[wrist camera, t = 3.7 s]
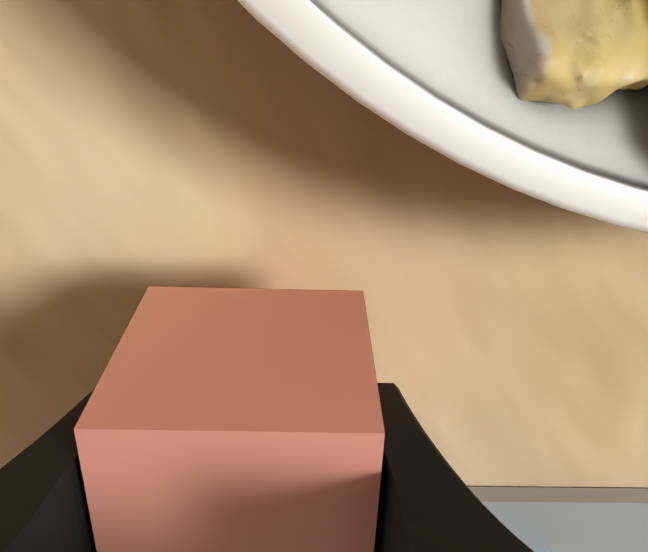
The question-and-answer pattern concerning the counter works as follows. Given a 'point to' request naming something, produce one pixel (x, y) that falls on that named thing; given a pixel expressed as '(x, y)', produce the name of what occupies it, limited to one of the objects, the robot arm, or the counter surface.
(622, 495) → the baseplate
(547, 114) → the bowl
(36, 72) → the counter surface
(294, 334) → the pink cube
